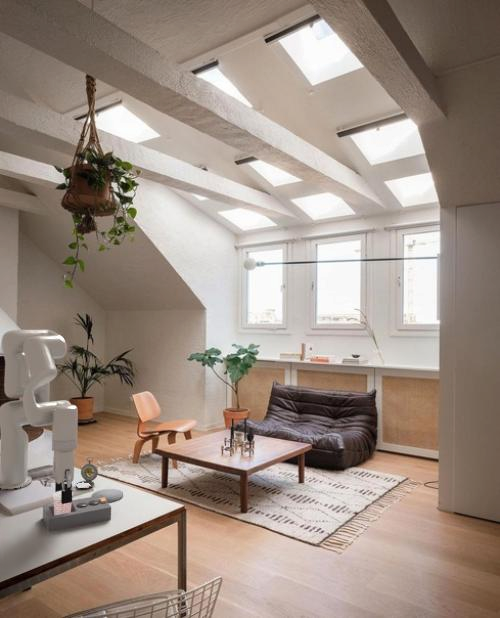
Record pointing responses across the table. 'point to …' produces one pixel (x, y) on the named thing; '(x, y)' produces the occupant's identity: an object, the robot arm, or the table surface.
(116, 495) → the slate mat
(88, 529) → the table surface
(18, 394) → the robot arm
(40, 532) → the table surface
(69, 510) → the beverage cup
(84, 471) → the pocket watch
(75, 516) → the gray desk organizer
